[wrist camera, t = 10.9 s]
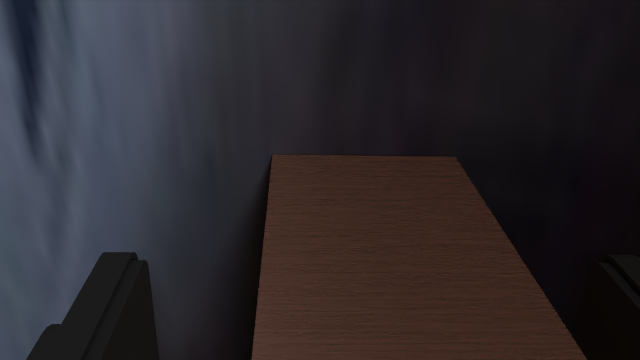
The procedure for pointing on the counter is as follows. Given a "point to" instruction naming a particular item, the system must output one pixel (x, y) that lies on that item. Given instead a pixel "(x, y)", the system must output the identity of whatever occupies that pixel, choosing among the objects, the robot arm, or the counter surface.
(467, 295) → the orange-brown mallet
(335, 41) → the counter surface
